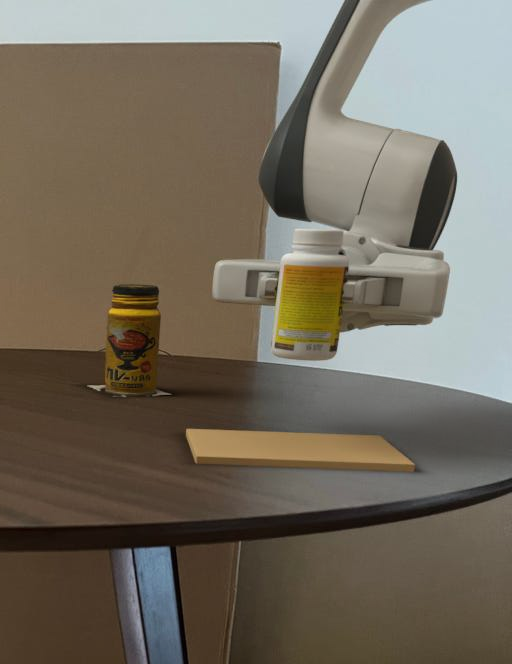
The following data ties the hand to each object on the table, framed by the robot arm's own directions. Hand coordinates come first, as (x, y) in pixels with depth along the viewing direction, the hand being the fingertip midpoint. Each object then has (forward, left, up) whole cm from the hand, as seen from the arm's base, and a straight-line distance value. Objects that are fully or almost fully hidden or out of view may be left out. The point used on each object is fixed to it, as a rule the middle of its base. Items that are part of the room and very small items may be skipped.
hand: (309, 290), depth 85 cm
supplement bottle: (0, -1, -6) cm, 6 cm away
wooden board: (0, -1, -14) cm, 14 cm away
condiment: (+14, -33, -14) cm, 38 cm away
